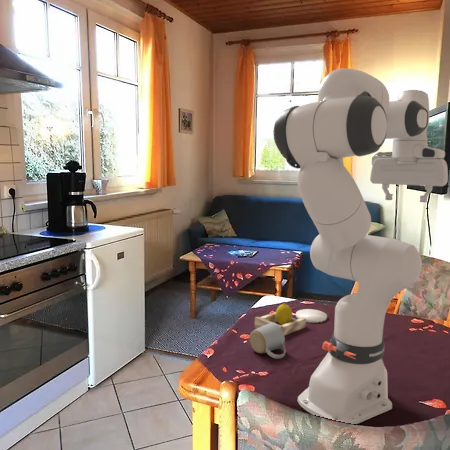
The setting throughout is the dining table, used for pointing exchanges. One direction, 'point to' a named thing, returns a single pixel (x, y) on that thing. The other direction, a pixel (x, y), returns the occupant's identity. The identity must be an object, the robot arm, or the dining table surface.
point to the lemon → (283, 314)
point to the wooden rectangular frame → (286, 328)
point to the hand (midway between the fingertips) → (405, 201)
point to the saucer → (312, 315)
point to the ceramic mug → (268, 340)
